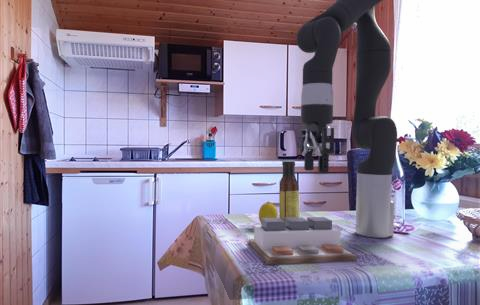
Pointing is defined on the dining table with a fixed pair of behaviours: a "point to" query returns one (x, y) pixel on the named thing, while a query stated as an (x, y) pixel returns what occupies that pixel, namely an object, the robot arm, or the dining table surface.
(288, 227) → the button
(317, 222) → the button
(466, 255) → the dining table surface
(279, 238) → the switch housing
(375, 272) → the dining table surface
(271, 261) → the switch base
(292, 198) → the sauce bottle
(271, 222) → the button
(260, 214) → the lemon
